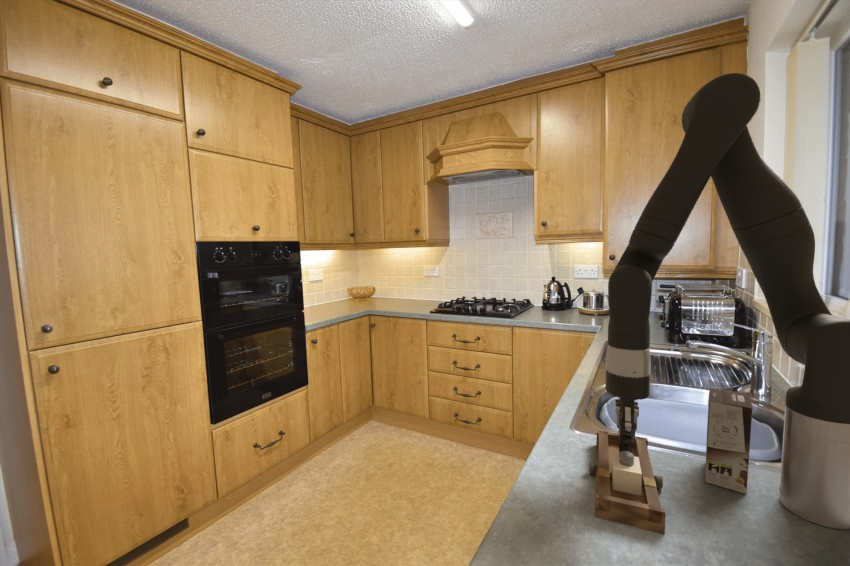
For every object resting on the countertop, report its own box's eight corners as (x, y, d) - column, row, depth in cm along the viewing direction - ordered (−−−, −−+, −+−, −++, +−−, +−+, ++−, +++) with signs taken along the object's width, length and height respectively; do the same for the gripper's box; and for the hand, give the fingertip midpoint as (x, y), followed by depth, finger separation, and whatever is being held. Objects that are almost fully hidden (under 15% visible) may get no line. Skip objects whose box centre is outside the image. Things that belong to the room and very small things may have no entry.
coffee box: (748, 495, 70) (753, 408, 69) (704, 482, 74) (708, 400, 73) (745, 471, 77) (750, 392, 76) (705, 461, 81) (709, 386, 80)
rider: (638, 477, 73) (639, 448, 73) (641, 495, 68) (642, 465, 67) (611, 472, 75) (612, 444, 75) (612, 489, 70) (613, 459, 69)
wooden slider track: (653, 454, 84) (653, 438, 84) (673, 536, 61) (674, 513, 60) (590, 443, 89) (591, 428, 89) (587, 515, 66) (587, 494, 65)
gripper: (654, 382, 66) (651, 479, 68) (646, 361, 78) (644, 444, 80) (605, 377, 69) (603, 470, 71) (605, 358, 81) (603, 437, 83)
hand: (625, 456), depth 75 cm, fingers closed
